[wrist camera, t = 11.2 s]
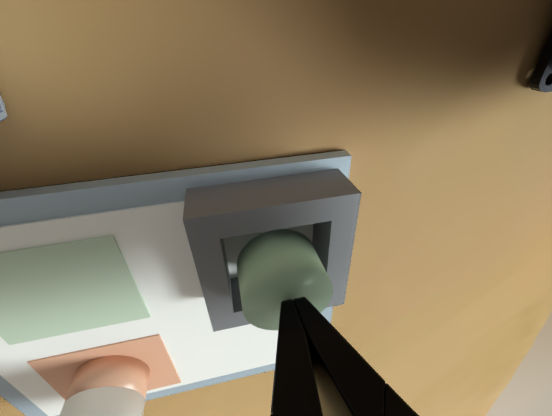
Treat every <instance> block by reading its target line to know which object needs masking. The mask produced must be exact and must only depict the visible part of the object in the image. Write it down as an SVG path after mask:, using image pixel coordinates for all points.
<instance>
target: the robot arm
mask: <svg viewBox="0 0 552 416" xmlns="http://www.w3.org/2000/svg"><path fill="white" fill-rule="evenodd" d="M530 88H531V89H532V90H536V91H542V92H551V91H552V31H551V34H550V36H549V38H548V41H547V43H546V45H545V47H544V50H543V52H542V54H541V57H540V59H539V61H538V64H537V66H536V68H535V70H534V73H533V75H532V77H531V80H530ZM270 416H419V415H418V414H417V413H416V412H415V411H414V410H413V409H412V408H411V407H410V406H409V405H408V404H407V403H406V402H405V401H404V400H403V399H402V398H401V397H400V396H399V395H398V394H397V393H396V392H395V391H394V390H393V389H392V388H391V387H390V386H389V385H388V384H387V383H386V384H385V381H384V380H383V378H382V377H381V376H380V375H379V374H378V373H377V372H376V371H375V370H374V369H373V368H372V367H371V366H370V365H369V364H368V363H367V362H366V360H365V359H364V358H363V357H362V356H361V355H360V354H359V353H358V352H357V351H356V350H355V349H354V348H353V347H352V346H351V345H350V344H349V342H348V341H347V340H346V339H345V338H344V337H343V336H342V335H341V334H340V333H339V332H338V331H337V330H336V329H335V328H334V327H333V326H332V324H331V323H330V322H329V321H328V320H327V319H326V318H325V317H324V316H323V315H322V314H321V313H320V312H319V311H318V310H317V309H316V308H315V307H314V305H313V304H312V303H311V302H310V301H309V300H308V299H307V298H306V297H299V298H295V299H293V300H292V299H289V300H284V301H282V302H281V306H280V317H279V328H278V339H277V350H276V361H275V372H274V383H273V394H272V405H271V415H270Z"/></svg>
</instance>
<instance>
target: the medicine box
mask: <svg viewBox="0 0 552 416" xmlns="http://www.w3.org/2000/svg"><path fill="white" fill-rule="evenodd" d="M6 117H7V113H6V110H5V104H4V102H3V99H2V97H1V95H0V121H2V120H4V119H5V118H6Z"/></svg>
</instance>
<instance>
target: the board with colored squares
mask: <svg viewBox="0 0 552 416" xmlns="http://www.w3.org/2000/svg"><path fill="white" fill-rule="evenodd" d="M350 163H351V155H350V154H349V153H348V152H347V151H346V150H342V151H334V152H326V153H317V154H309V155H301V156H293V157H284V158H276V159H268V160H259V161H251V162H243V163H235V164H226V165H218V166H210V167H202V168H193V169H185V170H177V171H168V172H160V173H152V174H144V175H135V176H127V177H119V178H111V179H102V180H94V181H86V182H78V183H69V184H61V185H53V186H44V187H36V188H28V189H20V190H11V191H3V192H0V396H1V397H3V398H4V399H5V400H7V401H8V402H9V403H10V404H12V405H13V406H14V407H16V408H17V409H18V410H19V411H21V412H22V413H23V414H25V415H26V416H59V415H60V413H61V410H62V407H63V405H64V402H65V399H66V396H67V394H68V391H69V388H70V386H71V383H72V380H73V378H74V375H75V372H76V370H77V369H78V368H79V367H80V366H81V365H82V364H84V363H86V362H87V361H90V360H92V359H95V358H99V357H104V356H113V355H121V356H129V357H134V358H137V359H139V360H141V361H143V362H144V363H146V364H147V365H148V367H149V369H150V374H149V380H148V386H147V393H146V399H145V401H147V400H151V399H155V398H160V397H164V396H168V395H172V394H176V393H180V392H184V391H188V390H192V389H197V388H201V387H205V386H209V385H213V384H217V383H221V382H225V381H230V380H234V379H238V378H242V377H246V376H250V375H254V374H258V373H263V372H267V371H271V370H275V361H276V350H277V339H278V330H265V329H261V328H258V327H255V326H254V325H252V324H250V323H249V322H248V321H247V320H246V318H245V316H244V314H243V311H242V303H241V296H240V288H239V281H238V273H237V259H238V256H239V254H240V252H241V250H242V249H243V247H244V246H245V245H246V244H247V243H248V242H249V241H251V240H252V239H253V238H255V237H257V236H258V235H261V234H263V233H265V232H268V231H273V230H279V229H287V230H293V231H297V232H299V233H301V234H303V235H305V236H306V237H307V238H308V239H309V240H310V241H311V243H312V244H313V246H314V248H315V251H316V253H317V255H318V257H319V259H320V261H321V263H322V265H323V267H324V269H325V271H326V273H327V275H328V277H329V279H330V281H331V283H332V287H333V293H332V297H331V300H330V302H329V304H328V305H327V307H326V308H325V309H324V310H323V311H322V312H321V314H322V315H323V316H324V317H325V318H326V319H327V320H328V321H329V322H330V323H331V317H332V309H333V306H337V305H342V304H344V300H345V294H346V287H347V281H348V275H349V268H350V262H351V256H352V249H353V243H354V237H355V230H356V224H357V217H358V211H359V205H360V198H361V192H360V191H359V190H358V189H357V188H356V187H355V186H354V185H353V184H352V183H351V181H350V180H349V171H350Z"/></svg>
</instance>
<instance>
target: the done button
mask: <svg viewBox="0 0 552 416" xmlns="http://www.w3.org/2000/svg"><path fill="white" fill-rule="evenodd" d="M237 273H238V281H239V288H240V296H241V303H242V311H243V314H244V316H245V318H246V320H247V321H248V322H249V323H250V324H252V325H254V326H255V327H258V328H261V329H265V330H278V328H279V317H280V306H281V302H282V301H284V300H289V299H292V300H293V299H295V298H299V297H306V298H307V299H308V300H309V301H310V302H311V303H312V304H313V305H314V307H315V308H316V309H317V310H318V311H319V312H320V313H321V312H322V311H323V310H324V309H325V308H326V307H327V305H328V304H329V302H330V300H331V297H332V293H333V287H332V283H331V281H330V279H329V277H328V275H327V273H326V271H325V269H324V267H323V265H322V263H321V261H320V259H319V257H318V255H317V253H316V251H315V248H314V246H313V244H312V243H311V241H310V240H309V239H308V238H307V237H306V236H305V235H303V234H301V233H299V232H297V231H293V230H287V229H279V230H273V231H268V232H265V233H263V234H261V235H258V236H257V237H255V238H253V239H252V240H251V241H249V242H248V243H247V244H246V245H245V246H244V247H243V249H242V250H241V252H240V254H239V256H238V259H237Z"/></svg>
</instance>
